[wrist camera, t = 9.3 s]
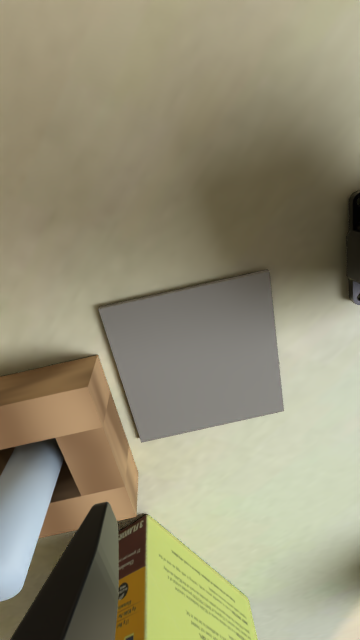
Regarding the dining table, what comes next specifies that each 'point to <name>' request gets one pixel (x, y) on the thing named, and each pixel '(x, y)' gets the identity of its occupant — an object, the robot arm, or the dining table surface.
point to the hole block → (71, 438)
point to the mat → (197, 355)
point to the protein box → (174, 591)
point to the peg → (24, 508)
